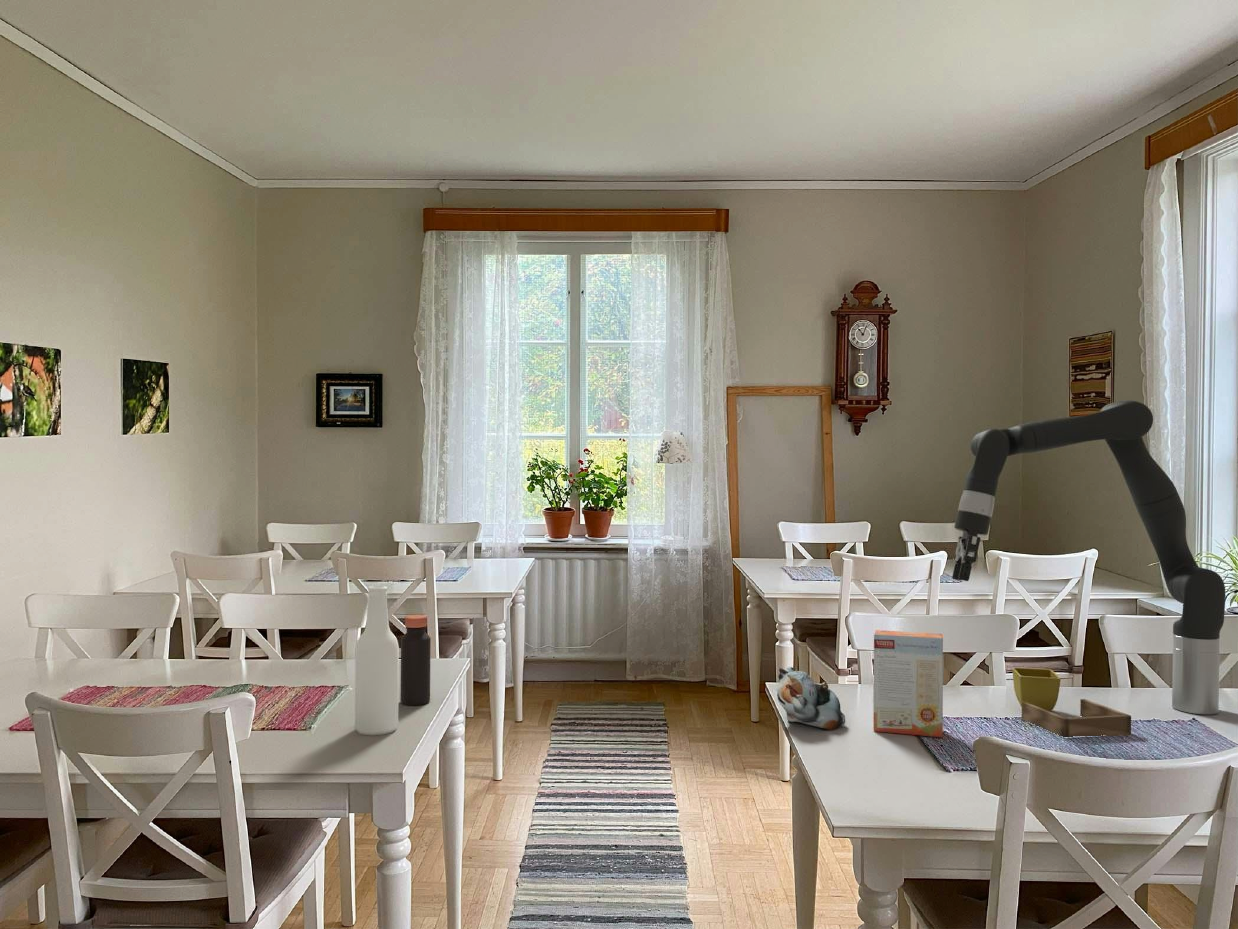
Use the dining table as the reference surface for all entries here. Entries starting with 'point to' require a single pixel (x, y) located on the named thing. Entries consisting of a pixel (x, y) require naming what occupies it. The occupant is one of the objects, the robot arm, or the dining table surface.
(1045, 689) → the flower pot
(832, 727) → the lucky cat figurine
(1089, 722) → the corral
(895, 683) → the cracker box
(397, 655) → the alcohol
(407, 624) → the bottle
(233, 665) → the dining table surface
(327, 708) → the dining table surface
